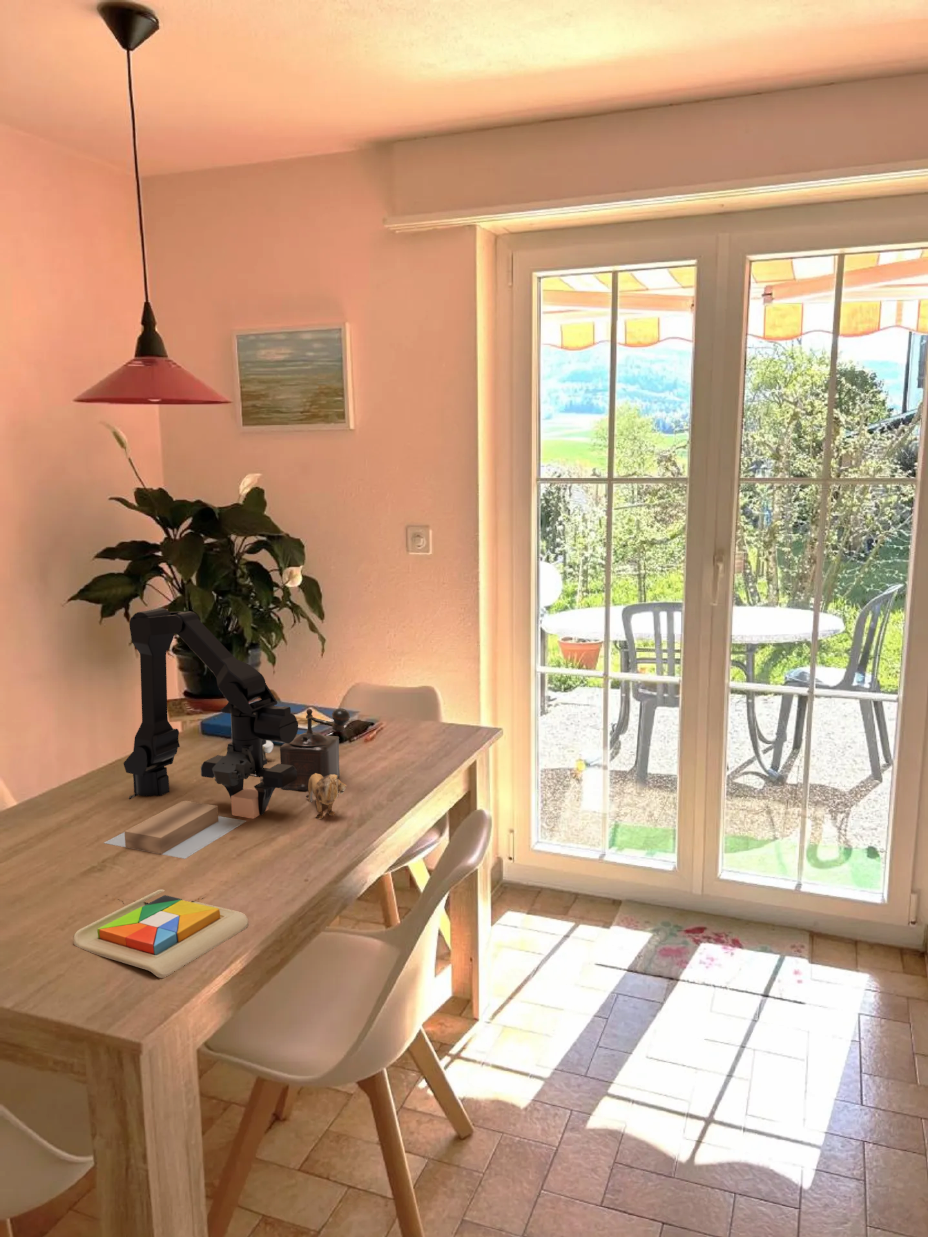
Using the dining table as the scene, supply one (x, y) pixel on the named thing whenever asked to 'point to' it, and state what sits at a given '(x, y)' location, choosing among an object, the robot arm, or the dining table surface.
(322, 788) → the lion figurine
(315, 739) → the manual coffee grinder
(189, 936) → the wooden puzzle
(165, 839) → the plinth
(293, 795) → the dining table surface
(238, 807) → the cap block
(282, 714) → the robot arm
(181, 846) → the build board
